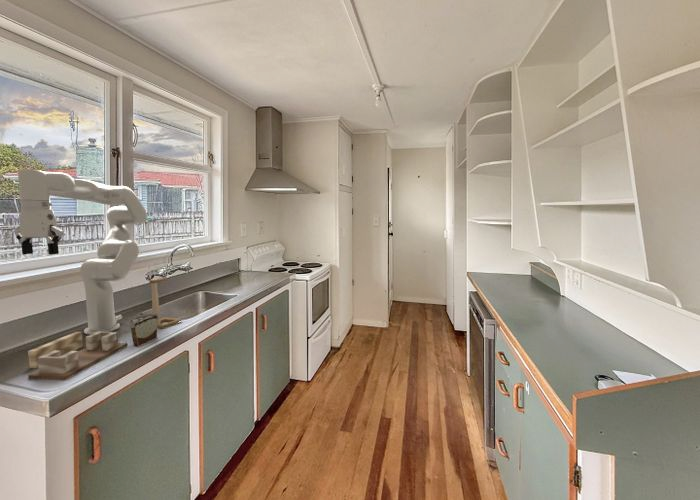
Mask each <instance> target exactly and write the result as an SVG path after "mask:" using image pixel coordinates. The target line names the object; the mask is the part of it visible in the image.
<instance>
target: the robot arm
mask: <svg viewBox="0 0 700 500" xmlns="http://www.w3.org/2000/svg"><path fill="white" fill-rule="evenodd" d="M17 176H18V179H17V180H18V188H19V189H18V191H19V198H20V207H21V208H20V213H19V227H18V228H16V229H14V230H13V233H14V235H15V237H16V239H17V240H18V242H19V244H21V252H22V255H31V254H33V253H34V250H33V243H32V242H31V241H32V240H33V239H46V240H47V251H48V254H49V255H50V256H51V255H52V256H53V255H58V254H60V252H59V251H60V250H59V243H60V240H62V238H63V234H64V230H62V229H61V228H59V227H58V221H57V218H56V215H55V211H54V210H53V209H51V208H52V206H53V204H52V202H51V197H50V196H52V197H57V198H65V199H72V200H79V201H85V202H90V203H91V202H92V203H98V204H102V205H106V206H107V205H108V206H112V207H110V208H109V209H108V210H107V213H106V218H107V221H108V225H109V232H108V233H107V235H106V237H105V238H104V240H103V241H102V242H101V244H100V245H99V246H98V249H97V257H99V258H91V259H87V260H85V261H84V262H82V264H81V265H80V269H79V270H80V271H79V272H80V276H81V279H82V281H83V285H84V290H85V291H84V292H85V304H86V315H87V326H88V327H86V328H84V329H83V333H84V334H86V335H91V334H93V333H96V332H115V330H118V329H120V327H121V325H120V323H118V321H119V320H121V319H123V315H121V314H119V315H115V312H116V311H115V304H114V303H115V301H114V290H113V286H112V284H111V282H118V281H119V282H120V281H122V280H124V279H126V278H127V276H128V274H129V273H130V271H131V269H132V268H133V266H134V264H135V263H136V261H137V259H138V257H139V255H140V254H139V251H140V249H139V248H140V247H139V246H138V244H137V243H136V242H135V241H133V240H130V239H131V232H130V230H129V229H128V227H127V225H140V224H144V223H145V222H146V221H147V218H148V215H147V210H146V208H145V206H143V204H142V202H141V201H140V199H139V197H138V196H137V195H136V193H135V192H134V191H133V190H132V189H131V188H130V187H128V186H125V185H119V186H118V185H107V184H103V183H100V182H96V181H92V180H87V179H77V178H76V179H74V178H73V177H72V176H71V175H69V174H68V173H65V172H59V171H58V172H51V171H49V172H48V171H43V170H39V169H28V168H27V169H20V170H18V173H17Z"/></svg>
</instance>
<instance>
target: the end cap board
mask: <svg viewBox="0 0 700 500" xmlns="http://www.w3.org/2000/svg"><path fill="white" fill-rule="evenodd" d="M85 344H86V346H85V348H82V349H80V350H79V351H78V350H74V351H71V352H68V353H66V354H64V355H62V356H61V354H60V351H52V352H50V353H48V354H45V355H43V356H41V357H38V366H39V367H38V370H37V371H34V372H32V373H30V374H28V375H27V376H28V377H27V378H28V380H53V381H54V380H56V381H59V380H60V381H66V379H67V380H68V379H70V378H73V376H75V375H77V374H79V373H81V372H82V371H85V370H86V369H89V368H90V367H92V366H94V365H95V364H98V363H99V362H101V361H103V360H105V359H107V358H108V357H110V356H112V355H114V354H116V353H117V352H119V351H121V350H123V349H125V348H126V347H128V343H126V342H125V343H124V342H120V339H119V331H111V332H96V333H93V334H88V335H87V336H85Z"/></svg>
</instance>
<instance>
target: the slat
mask: <svg viewBox="0 0 700 500" xmlns="http://www.w3.org/2000/svg"><path fill="white" fill-rule="evenodd" d="M83 347H84V344H83V333H82V331H74V332H72V333H70V334H67V335H65V336H62V337H60V338H56V339H54V340H52V341H50V342H47V343H45V344H42V345H40V346H38V347H35V348H32V349H30V350H28V351H27V352H28V353H27V354H28V356H27V357H28V363H29V364H28V365H29V369H39V366H38V357H41V356H43V355H45V354H48V353H50V352H52V351H60V354H61V356H62V355H64V354H66V353H68V352H71V351H78V349H81V348H83Z"/></svg>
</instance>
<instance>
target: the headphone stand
mask: <svg viewBox="0 0 700 500" xmlns="http://www.w3.org/2000/svg"><path fill="white" fill-rule="evenodd" d="M148 281H149V284H151V287H150V288H151V307H152V309H151V310H152V311H151V312H152V313H151V314H158V317H159V318H158V321H157V330H163V329H166V328H169V327H171V326H174V324H175V325H177V324H176V323H178V322H179V321H181V322H182V319H181V318H174V317H173V318H172V317H162V318H161V313H160V301H159V300H160V299H159V291H158V290H159V289H158V283H162V282H165V281H166V277H163V276H162V277H159V278H155V279H154V278H153V279H149V280H148ZM164 322H166V323H164ZM178 324H179V323H178Z"/></svg>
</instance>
